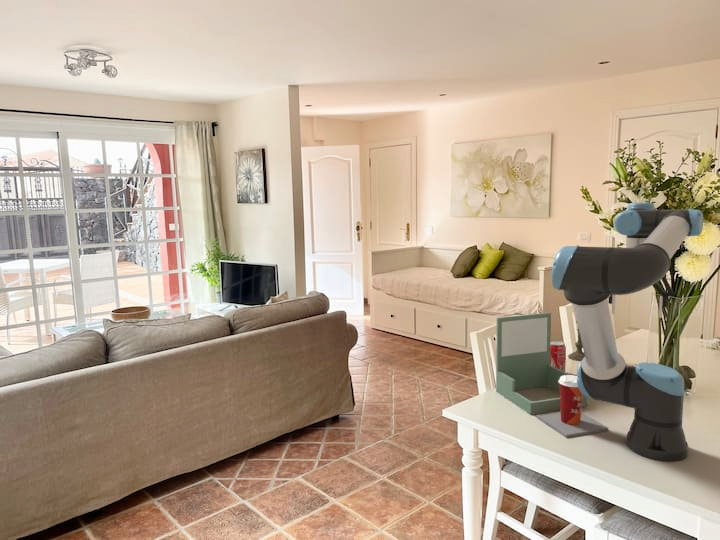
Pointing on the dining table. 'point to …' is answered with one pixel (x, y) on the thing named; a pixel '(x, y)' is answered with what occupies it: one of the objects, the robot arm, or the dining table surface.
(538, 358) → the green display box
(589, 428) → the rubber mat
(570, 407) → the paper cup
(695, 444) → the dining table surface
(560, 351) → the soda can
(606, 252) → the robot arm
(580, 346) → the candlestick holder
